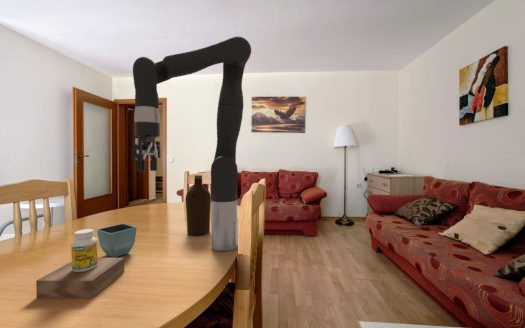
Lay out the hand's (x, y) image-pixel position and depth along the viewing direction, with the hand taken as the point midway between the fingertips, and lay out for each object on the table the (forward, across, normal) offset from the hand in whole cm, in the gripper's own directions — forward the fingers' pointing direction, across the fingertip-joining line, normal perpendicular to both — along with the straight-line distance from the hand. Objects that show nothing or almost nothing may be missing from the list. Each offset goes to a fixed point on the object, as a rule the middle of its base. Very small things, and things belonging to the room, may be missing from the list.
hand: (147, 171), depth 80 cm
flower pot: (+28, +1, +11) cm, 30 cm away
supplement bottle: (+24, -18, +8) cm, 31 cm away
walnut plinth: (+28, -18, +8) cm, 34 cm away
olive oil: (+28, +25, -10) cm, 39 cm away
